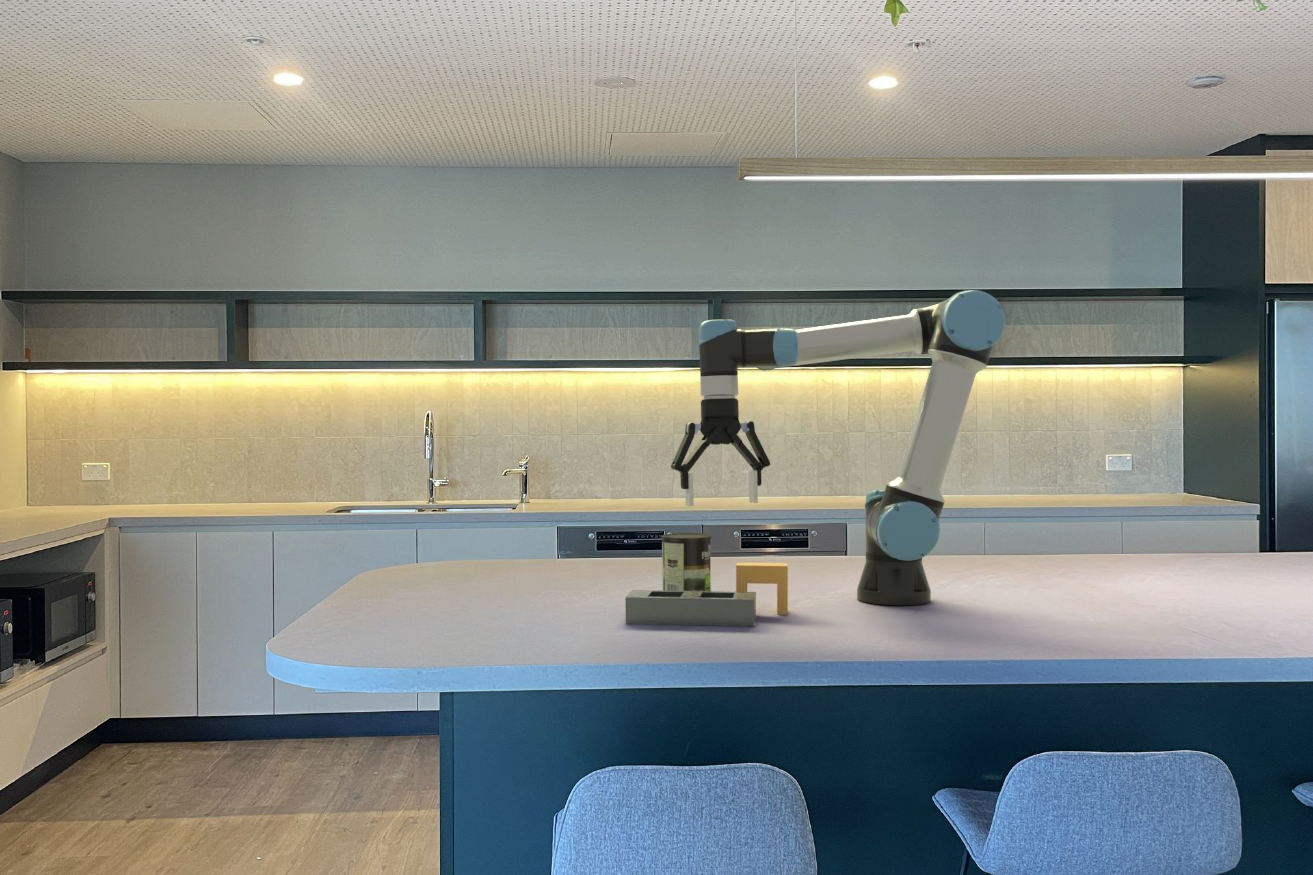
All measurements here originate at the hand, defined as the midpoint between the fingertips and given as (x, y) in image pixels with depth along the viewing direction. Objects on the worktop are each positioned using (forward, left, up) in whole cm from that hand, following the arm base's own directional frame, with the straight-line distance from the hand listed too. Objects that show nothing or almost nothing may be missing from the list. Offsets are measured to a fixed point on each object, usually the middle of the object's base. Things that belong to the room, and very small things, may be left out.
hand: (721, 504), depth 214 cm
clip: (-8, +2, -21) cm, 23 cm away
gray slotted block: (+5, +12, -21) cm, 25 cm away
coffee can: (+8, -7, -21) cm, 24 cm away
